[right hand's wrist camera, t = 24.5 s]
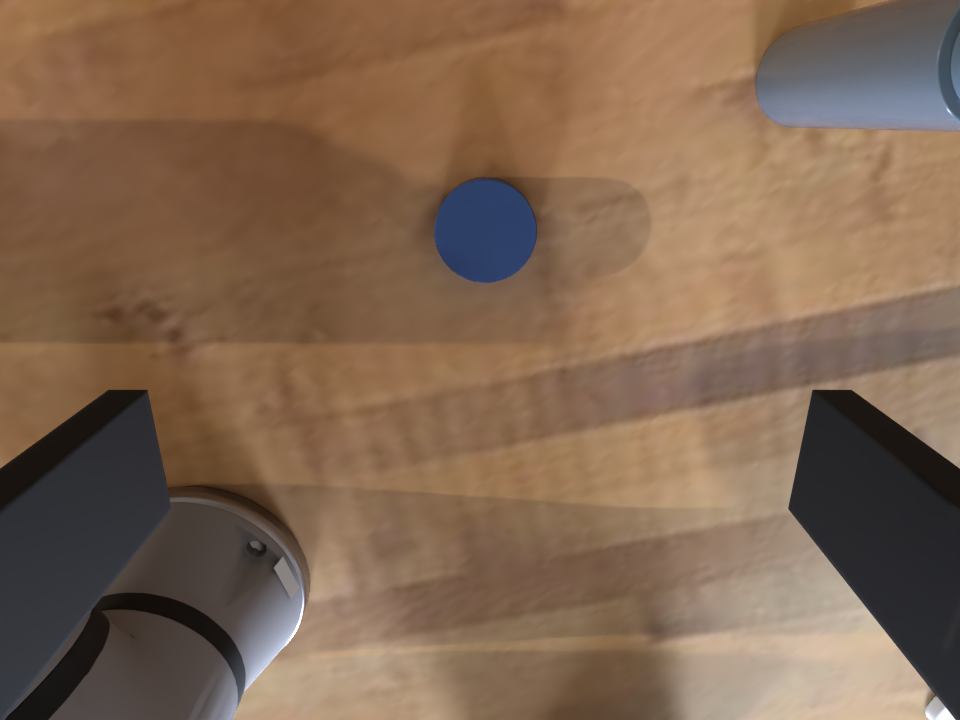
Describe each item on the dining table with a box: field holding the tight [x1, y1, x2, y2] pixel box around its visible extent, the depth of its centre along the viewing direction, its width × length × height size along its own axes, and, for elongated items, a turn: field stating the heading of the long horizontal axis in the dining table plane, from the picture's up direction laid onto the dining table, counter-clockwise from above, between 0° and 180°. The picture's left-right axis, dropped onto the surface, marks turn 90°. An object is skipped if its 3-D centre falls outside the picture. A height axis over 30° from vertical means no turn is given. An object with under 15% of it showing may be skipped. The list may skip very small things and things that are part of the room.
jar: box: [756, 0, 960, 132], centre depth 27 cm, size 5×5×16 cm
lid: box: [434, 177, 537, 283], centre depth 37 cm, size 6×6×2 cm
